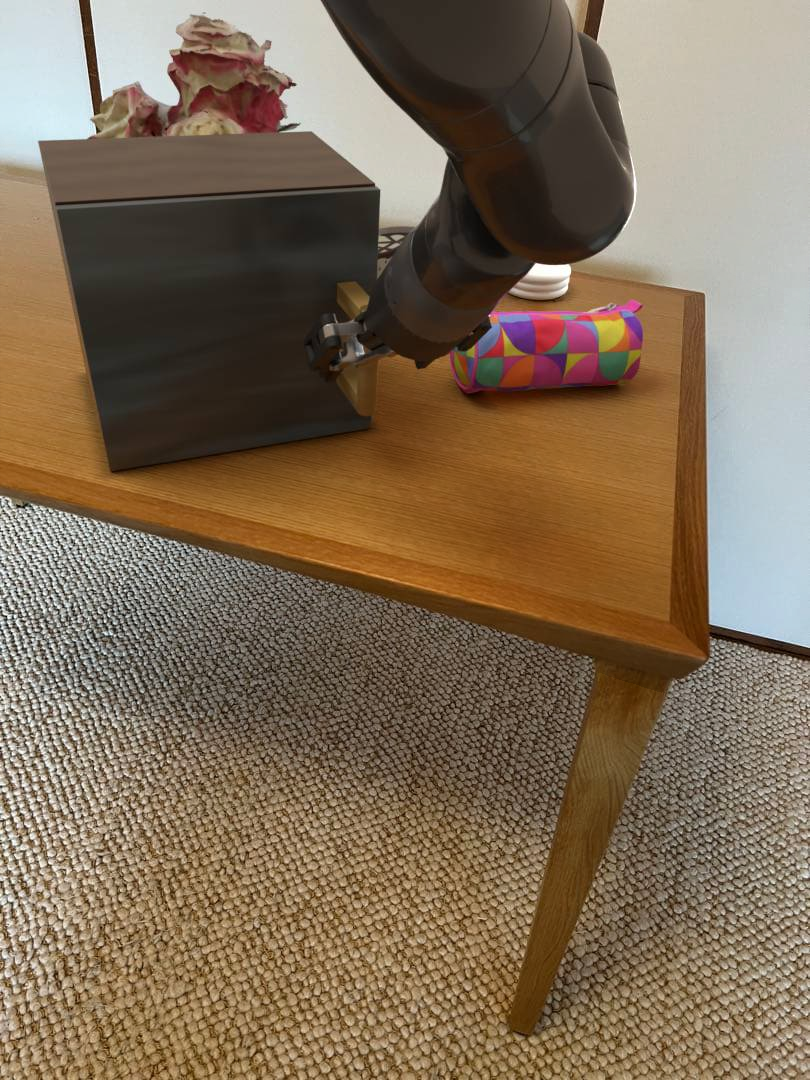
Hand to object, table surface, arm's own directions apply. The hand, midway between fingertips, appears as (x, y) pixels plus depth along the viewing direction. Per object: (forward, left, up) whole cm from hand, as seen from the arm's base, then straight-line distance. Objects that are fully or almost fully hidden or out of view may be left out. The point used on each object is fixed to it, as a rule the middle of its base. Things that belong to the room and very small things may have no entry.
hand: (373, 364), depth 71 cm
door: (-10, +4, -11) cm, 16 cm away
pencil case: (+25, +11, -12) cm, 30 cm away
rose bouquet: (-2, +57, -12) cm, 58 cm away
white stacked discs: (+39, +36, -12) cm, 55 cm away
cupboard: (-10, +17, -11) cm, 23 cm away
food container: (+16, +34, -12) cm, 40 cm away
